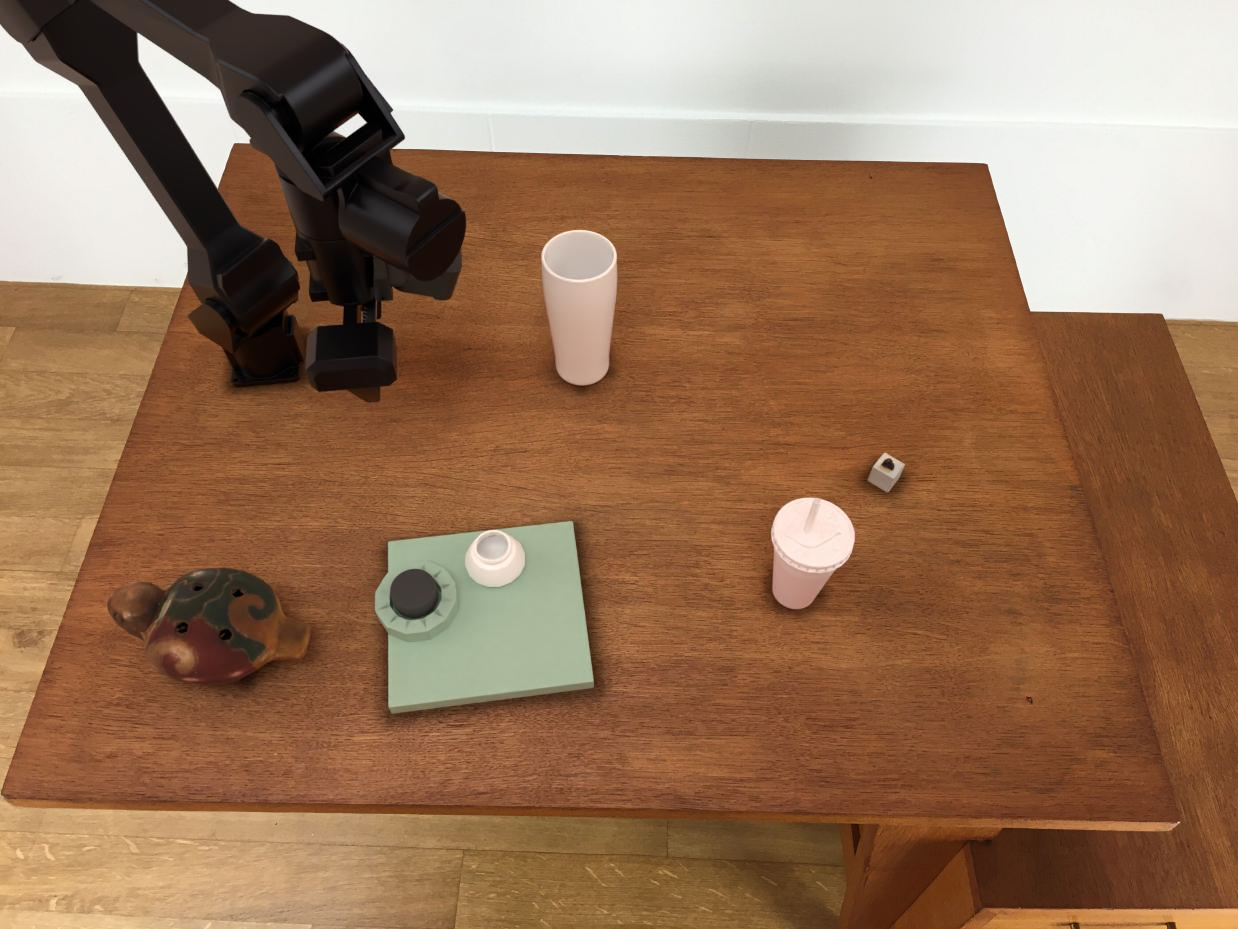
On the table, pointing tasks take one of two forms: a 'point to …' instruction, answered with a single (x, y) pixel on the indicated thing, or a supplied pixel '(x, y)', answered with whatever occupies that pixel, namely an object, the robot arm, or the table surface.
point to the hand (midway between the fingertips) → (374, 358)
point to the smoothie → (808, 549)
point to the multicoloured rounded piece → (209, 625)
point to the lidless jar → (494, 559)
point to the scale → (487, 624)
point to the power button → (414, 593)
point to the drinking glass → (580, 302)
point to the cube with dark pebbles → (886, 472)
